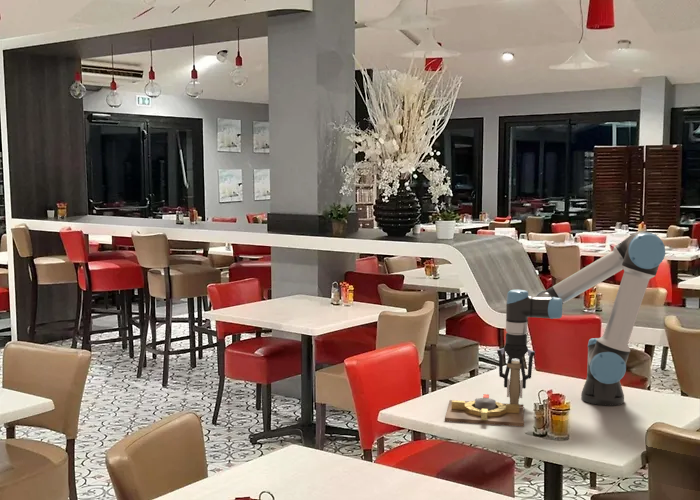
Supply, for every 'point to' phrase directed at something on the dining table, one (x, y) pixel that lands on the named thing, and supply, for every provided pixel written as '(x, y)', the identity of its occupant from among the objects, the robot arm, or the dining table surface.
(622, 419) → the dining table surface
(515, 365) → the handle
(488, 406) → the board
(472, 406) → the ring nut
